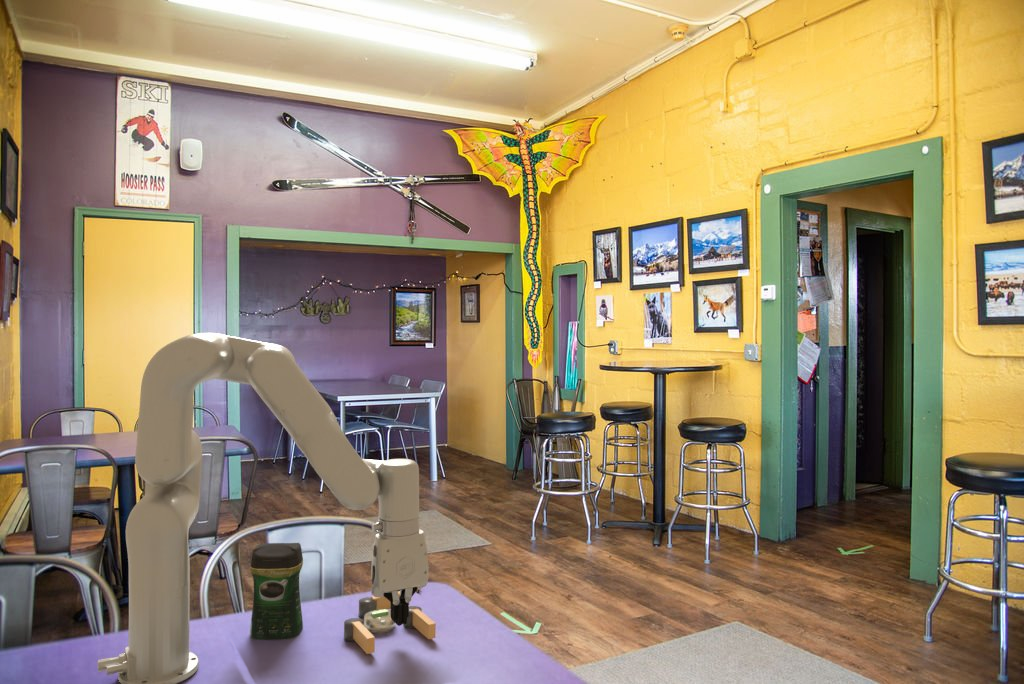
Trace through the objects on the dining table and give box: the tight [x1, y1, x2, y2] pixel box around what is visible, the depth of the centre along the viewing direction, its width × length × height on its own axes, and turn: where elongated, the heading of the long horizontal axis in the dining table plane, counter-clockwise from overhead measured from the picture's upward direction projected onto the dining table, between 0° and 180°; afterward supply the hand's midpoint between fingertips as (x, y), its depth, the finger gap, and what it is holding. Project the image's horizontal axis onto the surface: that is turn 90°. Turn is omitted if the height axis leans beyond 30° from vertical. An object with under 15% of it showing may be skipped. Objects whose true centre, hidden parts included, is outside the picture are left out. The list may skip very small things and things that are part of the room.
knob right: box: [402, 605, 437, 640], centre depth 141 cm, size 11×4×3 cm, turn 32°
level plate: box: [363, 609, 396, 634], centre depth 143 cm, size 18×18×4 cm
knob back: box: [358, 591, 400, 619], centre depth 150 cm, size 11×4×3 cm, turn 122°
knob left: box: [343, 617, 376, 655], centre depth 134 cm, size 11×4×3 cm, turn 32°
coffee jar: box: [249, 542, 304, 641], centre depth 140 cm, size 10×8×19 cm
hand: (399, 622), depth 136 cm, fingers closed
